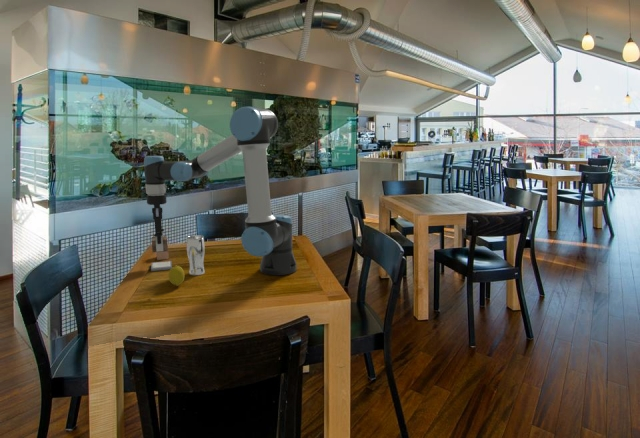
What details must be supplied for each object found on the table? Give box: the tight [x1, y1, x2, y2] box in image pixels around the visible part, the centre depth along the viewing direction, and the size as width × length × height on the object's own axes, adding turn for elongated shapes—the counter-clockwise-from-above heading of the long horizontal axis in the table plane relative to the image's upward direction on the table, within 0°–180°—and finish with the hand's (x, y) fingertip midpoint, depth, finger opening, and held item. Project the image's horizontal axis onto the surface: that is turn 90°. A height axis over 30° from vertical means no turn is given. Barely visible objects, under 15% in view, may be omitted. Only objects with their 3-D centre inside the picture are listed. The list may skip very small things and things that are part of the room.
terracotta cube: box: [155, 250, 170, 261], centre depth 191 cm, size 5×5×5 cm
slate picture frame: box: [150, 260, 173, 272], centre depth 179 cm, size 9×8×1 cm
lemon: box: [168, 265, 186, 287], centre depth 156 cm, size 6×6×8 cm
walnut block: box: [151, 235, 169, 254], centre depth 177 cm, size 6×6×5 cm
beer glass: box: [186, 234, 206, 276], centre depth 170 cm, size 7×7×15 cm
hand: (159, 248), depth 177 cm, fingers closed on walnut block, 6 cm apart
